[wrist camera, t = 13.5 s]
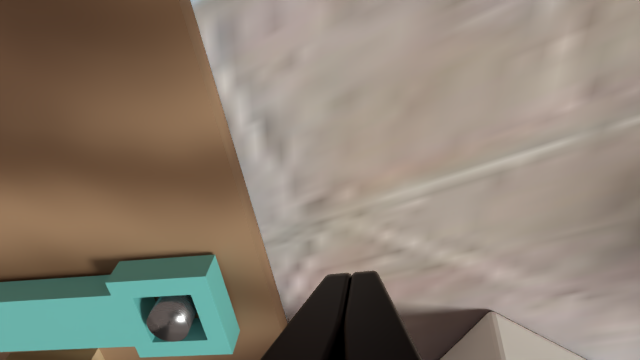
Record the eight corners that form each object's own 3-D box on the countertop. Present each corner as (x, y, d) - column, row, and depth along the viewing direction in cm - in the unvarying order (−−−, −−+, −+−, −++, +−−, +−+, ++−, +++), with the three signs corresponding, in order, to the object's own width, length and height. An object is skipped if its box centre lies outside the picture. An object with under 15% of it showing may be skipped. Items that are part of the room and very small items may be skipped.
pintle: (213, 292, 26) (194, 340, 24) (177, 295, 26) (154, 343, 24) (202, 262, 25) (180, 308, 23) (165, 265, 26) (140, 311, 23)
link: (215, 254, 23) (205, 276, 22) (240, 330, 26) (232, 353, 24) (-179, 282, 27) (-205, 302, 26) (-128, 347, 29) (-150, 368, 28)
